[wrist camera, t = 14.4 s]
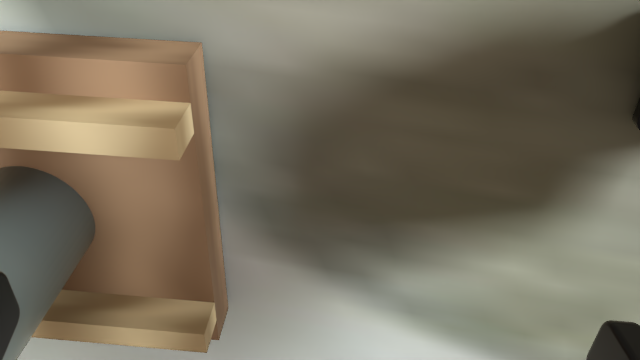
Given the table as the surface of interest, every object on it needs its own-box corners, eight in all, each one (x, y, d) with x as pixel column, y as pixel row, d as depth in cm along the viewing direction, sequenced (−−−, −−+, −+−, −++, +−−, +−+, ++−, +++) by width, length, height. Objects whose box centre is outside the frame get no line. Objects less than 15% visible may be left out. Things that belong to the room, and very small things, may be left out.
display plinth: (201, 42, 20) (169, 88, 17) (228, 308, 28) (209, 372, 25) (-117, 23, 20) (-205, 64, 17) (-1, 288, 28) (-47, 349, 25)
